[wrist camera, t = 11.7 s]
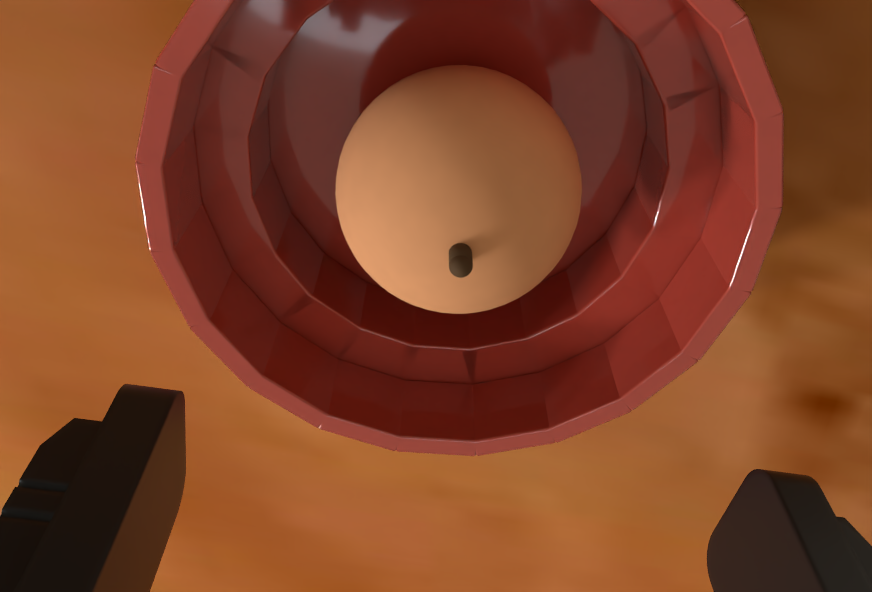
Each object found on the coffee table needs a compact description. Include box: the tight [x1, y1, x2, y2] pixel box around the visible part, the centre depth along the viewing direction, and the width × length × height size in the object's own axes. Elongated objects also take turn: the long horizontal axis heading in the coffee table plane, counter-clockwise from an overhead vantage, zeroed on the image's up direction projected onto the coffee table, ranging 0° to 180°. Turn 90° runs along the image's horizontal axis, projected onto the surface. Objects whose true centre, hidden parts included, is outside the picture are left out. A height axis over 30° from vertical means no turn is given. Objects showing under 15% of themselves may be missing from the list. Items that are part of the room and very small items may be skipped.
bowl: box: [135, 0, 784, 456], centre depth 19 cm, size 14×14×6 cm
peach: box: [335, 65, 582, 314], centre depth 18 cm, size 6×6×7 cm
